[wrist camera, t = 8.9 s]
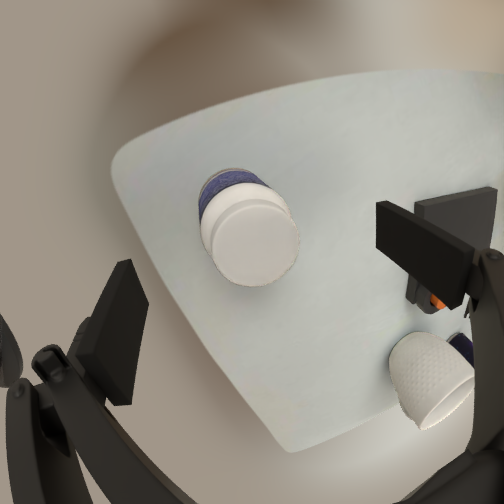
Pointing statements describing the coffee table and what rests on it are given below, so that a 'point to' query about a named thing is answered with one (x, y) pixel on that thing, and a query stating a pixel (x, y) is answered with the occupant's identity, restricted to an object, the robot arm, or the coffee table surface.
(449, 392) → the mug
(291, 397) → the coffee table surface
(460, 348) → the beverage can
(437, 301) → the button
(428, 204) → the scale
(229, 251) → the pill bottle
